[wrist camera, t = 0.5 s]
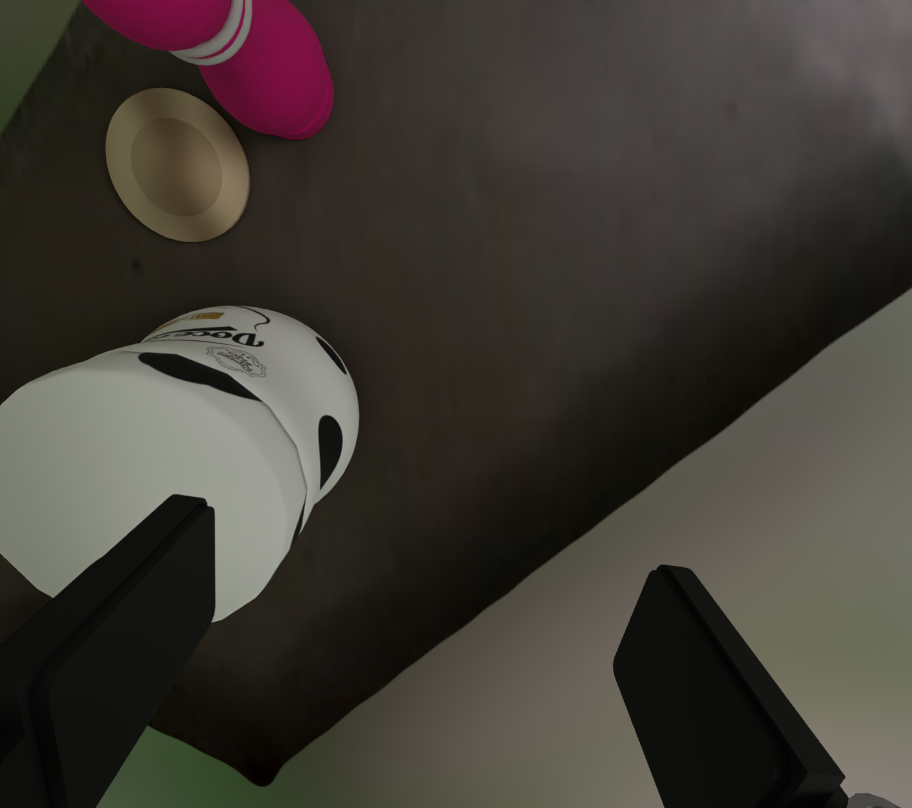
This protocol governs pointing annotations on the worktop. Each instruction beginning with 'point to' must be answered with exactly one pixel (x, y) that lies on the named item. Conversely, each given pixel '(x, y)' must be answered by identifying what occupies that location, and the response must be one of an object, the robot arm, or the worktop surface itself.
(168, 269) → the worktop surface
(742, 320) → the worktop surface
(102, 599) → the robot arm
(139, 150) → the plate
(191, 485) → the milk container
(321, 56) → the pepper mill
